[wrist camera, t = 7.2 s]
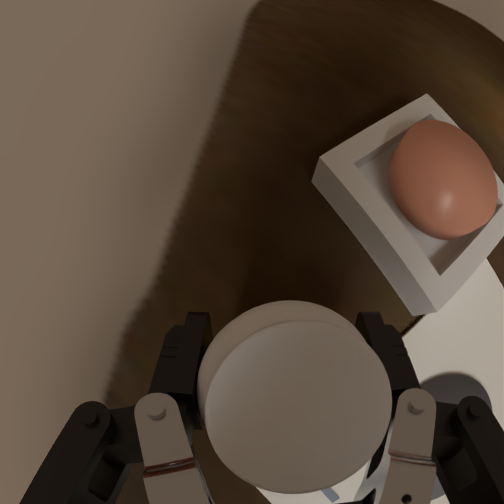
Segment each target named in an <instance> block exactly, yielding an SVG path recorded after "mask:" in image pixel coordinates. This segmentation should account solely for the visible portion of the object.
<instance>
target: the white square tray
mask: <svg viewBox="0 0 504 504" xmlns="http://www.w3.org/2000/svg"><path fill="white" fill-rule="evenodd" d="M424 120H439V121H444V122H447V123H449V124H452V125H454V126H456V127H458V126H457V125H456V123H455V122H454V121H453V120H452V119H451V118H450V117H449V116H448V115H447V114H446V113H445V111H444V110H443V109H442V108H441V107H440V106H439V105H438V104H437V103H436V102H435V101H434V100H433V99H432V98H431V97H430V96H429V95H428V94H425V95H423V96H422V97H420V98H418V99H416V100H415V101H413V102H411V103H409V104H407V105H406V106H404V107H402V108H400V109H399V110H397V111H395V112H393V113H392V114H390V115H388V116H387V117H385V118H383V119H381V120H380V121H378V122H376V123H375V124H373V125H371V126H370V127H368V128H366V129H364V130H363V131H361V132H359V133H358V134H356V135H354V136H353V137H351V138H349V139H348V140H346V141H344V142H343V143H341V144H339V145H338V146H336V147H335V148H333V149H331V150H330V151H328V152H326V153H325V154H323V155H321V156H320V157H319V159H318V162H317V166H316V169H315V172H314V175H313V178H312V181H311V182H312V183H313V185H314V186H315V187H316V188H317V189H318V191H319V192H320V193H321V194H322V195H323V197H324V198H325V199H326V200H327V202H328V203H329V204H330V205H331V206H332V208H333V209H334V210H335V211H336V213H337V214H338V215H339V216H340V218H341V219H342V220H343V221H344V223H345V224H346V225H347V227H348V228H349V229H350V230H351V232H352V233H353V234H354V236H355V237H356V238H357V240H358V241H359V242H360V243H361V245H362V246H363V247H364V249H365V250H366V251H367V253H368V254H369V255H370V257H371V258H372V259H373V261H374V262H375V264H376V265H377V266H378V268H379V269H380V270H381V272H382V273H383V275H384V276H385V277H386V279H387V280H388V282H389V283H390V284H391V286H392V287H393V289H394V290H395V291H396V293H397V294H398V296H399V297H400V299H401V300H402V302H403V303H404V304H405V306H406V307H407V309H408V310H409V312H410V313H411V315H412V316H416V315H423V314H430V313H436V312H438V311H439V310H440V309H441V308H442V307H443V306H444V305H445V304H446V303H447V302H448V301H449V300H450V299H451V298H452V297H453V296H454V294H455V293H456V292H457V291H458V290H459V289H460V288H461V287H462V286H463V285H464V283H465V282H466V281H467V280H468V279H469V278H470V277H471V275H472V274H473V273H474V272H475V271H476V270H477V268H478V267H479V266H480V265H481V264H482V262H483V261H484V260H485V259H486V257H487V256H488V255H489V254H490V253H491V251H492V250H493V249H494V247H495V246H496V245H497V244H498V242H499V241H500V240H501V238H502V237H503V236H504V184H503V183H502V181H501V180H500V179H499V177H498V176H497V174H496V173H495V172H494V174H495V177H496V181H497V188H498V200H497V206H496V209H495V212H494V214H493V216H492V217H491V219H490V220H489V221H488V222H487V223H486V224H484V225H483V226H481V227H479V228H478V229H476V230H474V231H472V232H470V233H468V234H467V235H465V236H463V237H461V238H458V239H455V240H439V239H436V238H432V237H430V236H428V235H426V234H424V233H423V232H421V231H420V230H418V229H417V228H416V227H414V226H413V225H412V224H411V223H410V222H409V221H408V220H407V219H406V217H405V216H404V215H403V214H402V212H401V211H400V209H399V208H398V206H397V204H396V202H395V201H394V198H393V196H392V193H391V190H390V187H389V182H388V164H389V160H390V157H391V155H392V153H393V151H394V150H395V148H396V147H397V145H398V144H399V142H400V141H401V140H402V138H403V137H404V135H405V134H406V132H407V131H408V130H409V128H410V127H412V126H413V125H414V124H416V123H418V122H420V121H424ZM458 128H459V127H458ZM459 129H460V128H459ZM493 171H494V170H493Z"/></svg>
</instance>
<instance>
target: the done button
mask: <svg viewBox="0 0 504 504" xmlns="http://www.w3.org/2000/svg"><path fill="white" fill-rule="evenodd" d="M388 182H389V187H390V190H391V193H392V196H393V198H394V201H395V202H396V204H397V206H398V208H399V209H400V211H401V212H402V214H403V215H404V216H405V217H406V219H407V220H408V221H409V222H410V223H411V224H412V225H413V226H414V227H416V228H417V229H418V230H420V231H421V232H423V233H424V234H426V235H428V236H430V237H432V238H436V239H439V240H455V239H458V238H461V237H463V236H465V235H467V234H468V233H470V232H472V231H474V230H476V229H478V228H479V227H481V226H483V225H484V224H486V223H487V222H488V221H489V220H490V219H491V217H492V216H493V214H494V212H495V209H496V206H497V200H498V188H497V181H496V177H495V174H494V171H493V168H492V166H491V164H490V162H489V160H488V158H487V156H486V155H485V153H484V152H483V150H482V149H481V148H480V146H479V145H478V144H477V143H476V142H475V141H474V140H473V139H472V138H471V137H470V136H469V135H468V134H466V133H465V132H464V131H462V130H461V129H459V128H458V127H456V126H454V125H452V124H449V123H447V122H444V121H439V120H424V121H420V122H418V123H416V124H414V125H413V126H412V127H410V128H409V130H408V131H407V132H406V134H405V135H404V137H403V138H402V140H401V141H400V142H399V144H398V145H397V147H396V148H395V150H394V151H393V153H392V155H391V157H390V160H389V164H388Z"/></svg>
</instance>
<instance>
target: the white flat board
mask: <svg viewBox="0 0 504 504" xmlns="http://www.w3.org/2000/svg"><path fill="white" fill-rule="evenodd" d="M402 339H403V342H404V344H405V345H404V346H405V347H406V349H407V352H408V356H409V357H410V360H411V362H412V365H413V368H414V370H415V373H416V376H417V379H418V381H419V384H420V387H421V389H422V390H425V391H427V392H428V393H429V394H431V396H432V397H433V398H434V400H435V401H438V402H444V403H452V404H458V403H459V402H460V401H461V400H462V399H463V398H464V397H467V396H477V397H479V398H481V399H483V400H484V401H485V402H486V403H487V405H488V406H489V408H490V409H491V411H492V413H493V414H494V416H495V417H496V419H497V421H498V422H499V424H500V425H501V427H502V429H503V430H504V288H503V286H502V284H501V282H500V281H499V279H498V277H497V275H496V274H495V272H494V270H493V269H492V267H491V265H490V264H489V262H488V260H487V259H485V260H484V261H483V262H482V264H481V265H480V266H479V267H478V268H477V270H476V271H475V272H474V273H473V274H472V275H471V277H470V278H469V279H468V280H467V281H466V282H465V283H464V285H463V286H462V287H461V288H460V289H459V290H458V291H457V292H456V293H455V294H454V296H453V297H452V298H451V299H450V300H449V301H448V302H447V303H446V304H445V305H444V306H443V307H442V308H441V309H440V310H439V311H438V312H436V313H430V314H425V315H424V316H423V317H422V318H421V319H420V320H419V321H418V322H417V323H416V324H415V325H414V326H413V327H411V328H410V329H409V330H408V331H407V332H406V333H405V334H404V335H403V336H402ZM367 464H368V462H367V463H366V464H365V465H364V466H363V467H362V468H361V469H360V470H358V471H357V472H356V473H355V474H353V475H352V476H350V477H349V478H347V479H346V480H344V481H342V482H340V483H338V484H336V485H334V486H332V487H329V488H326V489H323V490H319V491H315V492H311V493H304V494H282V493H276V492H271V491H267V490H264V489H261V488H258V487H257V488H258V490H259V491H260V492H261V493H262V494H263V495H264V496H265V497H266V498H267V499H268V500H269V501H270V502H271V503H272V504H337V503H345V502H353V500H354V497H355V495H356V493H357V491H358V489H359V487H360V485H361V483H362V480H363V477H364V474H365V471H366V467H367ZM430 504H450V503H449V501H448V499H447V497H446V495H445V492H444V490H443V488H442V486H441V484H440V482H439V479H438V477H437V475H436V476H435V482H434V487H433V493H432V498H431V503H430Z"/></svg>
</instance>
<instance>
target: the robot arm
mask: <svg viewBox="0 0 504 504" xmlns="http://www.w3.org/2000/svg"><path fill="white" fill-rule="evenodd" d="M355 328H356V329H357V330H358V331H359V332H360V334H361V335H362V336H363V338H364V339H365V341H366V342H367V344H368V345H369V346H370V347H371V348H372V349H373V350H374V352H375V353H376V354H377V355H378V357H379V359H380V360H381V362H382V364H383V366H384V368H385V370H386V372H387V375H388V378H389V382H390V387H391V392H392V410H391V418H390V422H389V425H388V428H387V431H386V434H385V436H384V438H383V440H382V443H381V445H380V446H379V447H378V449H377V450H376V452H375V453H374V455H373V456H372V457H371V459H370V460H369V461H368V464H367V467H366V471H365V474H364V477H363V480H362V483H361V485H360V487H359V489H358V491H357V493H356V495H355V497H354V500H353V502H345V503H337V504H430V503H431V498H432V493H433V487H434V482H435V476H436V475H437V477H438V479H439V482H440V484H441V486H442V488H443V490H444V492H445V495H446V497H447V499H448V501H449V503H450V504H504V430H503V429H502V427H501V425H500V424H499V422H498V421H497V419H496V417H495V416H494V414H493V413H492V411H491V409H490V408H489V406H488V405H487V403H486V402H485V401H484V400H483V399H481V398H479V397H477V396H467V397H464V398H463V399H462V400H461V401H460V402H459V403H458V404H452V403H444V402H438V401H435V400H434V398H433V397H432V396H431V394H429V393H428V392H427V391H425V390H422V389H421V387H420V384H419V381H418V379H417V376H416V373H415V370H414V368H413V365H412V362H411V360H410V357H409V356H408V352H407V349H406V347H405V346H404V345H405V344H404V342H403V339H402V337H401V334H400V333H399V332H398V331H397V330H396V329H395V328H394V327H393V326H392V325H384V322H383V320H382V317H381V315H380V313H379V312H359V314H358V316H357V319H356V323H355ZM212 341H213V336H212V329H211V321H210V315H209V313H208V312H188V314H187V318H186V321H185V325H184V326H180V325H174V326H173V327H172V328H171V330H170V331H169V332H168V333H167V334H166V336H165V339H164V342H163V346H162V349H161V352H160V358H159V359H158V362H157V366H156V369H155V372H154V376H153V379H152V383H151V386H150V390H149V392H148V394H147V395H146V396H144V397H143V398H141V399H140V400H139V401H138V403H137V404H136V405H134V406H131V407H127V408H120V409H112V410H108V408H107V407H106V406H105V405H104V404H102V403H100V402H96V401H90V402H85V403H83V404H81V405H80V406H78V407H77V408H76V410H75V411H74V412H73V414H72V415H71V417H70V418H69V420H68V422H67V423H66V425H65V427H64V428H63V430H62V431H61V433H60V435H59V436H58V438H57V439H56V441H55V443H54V444H53V446H52V448H51V449H50V451H49V453H48V455H47V456H46V458H45V459H44V461H43V463H42V465H41V466H40V468H39V470H38V472H37V474H36V475H35V477H34V478H33V480H32V482H31V484H30V486H29V488H28V489H27V491H26V493H25V494H24V497H23V498H22V500H21V502H20V504H115V502H116V499H117V497H118V495H119V493H120V491H121V489H122V487H123V485H124V483H125V481H126V478H127V476H128V474H129V472H130V470H131V468H132V466H133V464H134V463H140V462H144V464H145V471H144V472H143V478H144V484H145V488H146V492H147V495H148V499H149V503H150V504H214V502H213V499H212V497H211V494H210V492H209V490H208V487H207V484H206V482H205V479H204V476H203V473H202V471H201V468H200V465H199V462H198V459H197V456H196V453H195V450H194V447H193V444H192V439H193V433H194V429H196V430H202V428H203V420H202V417H201V414H200V411H199V406H198V400H197V379H198V373H199V369H200V365H201V362H202V360H203V357H204V355H205V353H206V351H207V349H208V347H209V345H210V344H211V342H212Z"/></svg>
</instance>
